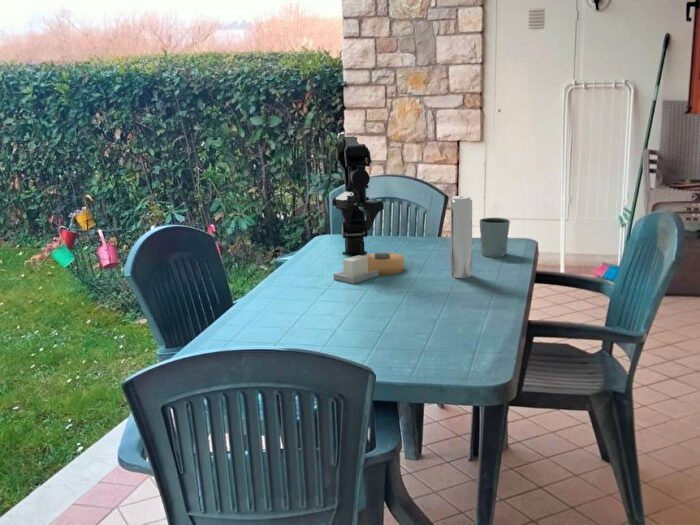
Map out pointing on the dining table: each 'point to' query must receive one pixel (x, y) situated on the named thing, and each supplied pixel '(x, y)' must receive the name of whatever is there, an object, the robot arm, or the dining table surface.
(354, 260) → the cream rectangular block
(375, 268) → the orange and grey base
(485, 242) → the grey plant pot
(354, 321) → the dining table surface
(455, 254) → the white tall cylinder
